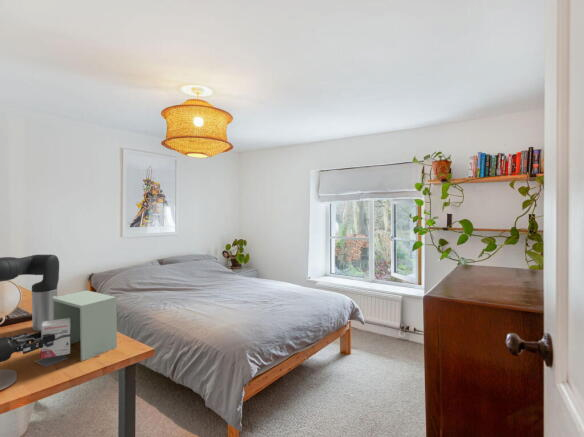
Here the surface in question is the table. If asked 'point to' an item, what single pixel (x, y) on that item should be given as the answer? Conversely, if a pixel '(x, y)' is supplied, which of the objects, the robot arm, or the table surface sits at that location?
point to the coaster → (51, 360)
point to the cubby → (89, 320)
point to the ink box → (56, 337)
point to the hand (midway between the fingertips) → (49, 335)
